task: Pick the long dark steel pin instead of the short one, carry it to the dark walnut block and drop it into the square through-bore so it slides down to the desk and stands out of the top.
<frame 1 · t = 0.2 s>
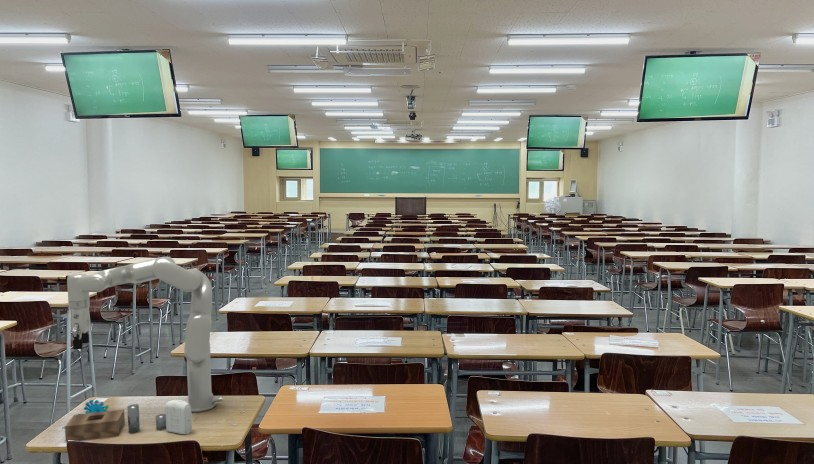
hand: (81, 346, 233), 31 cm above the table, tool pointing down, fingers open, 9 cm apart
short pin: (161, 428, 226), on the table
long pin: (134, 431, 223), on the table
hole block: (96, 432, 222), on the table
gear: (98, 419, 237), on the table
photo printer: (179, 432, 222), on the table
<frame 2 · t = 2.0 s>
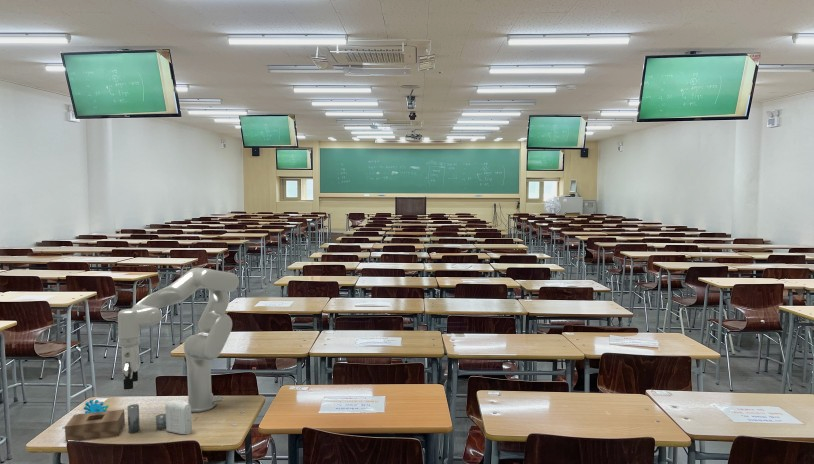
hand: (131, 385, 222), 18 cm above the table, tool pointing down, fingers open, 9 cm apart
nothing on the table moved.
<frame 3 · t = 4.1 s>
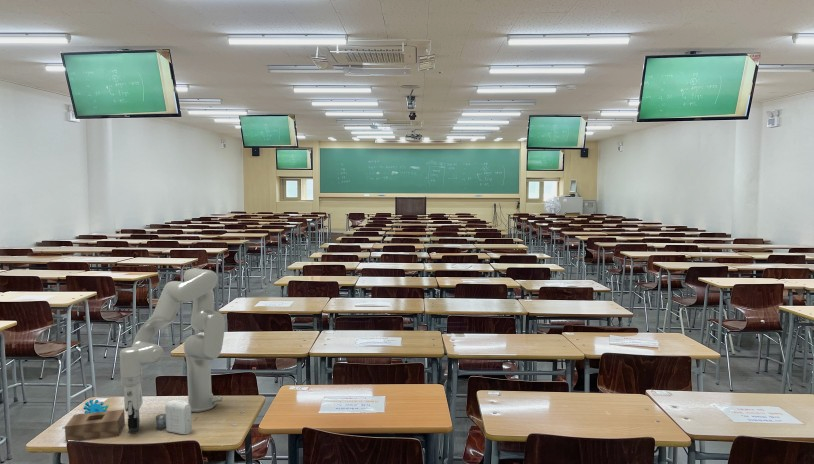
hand: (133, 425, 223), 2 cm above the table, tool pointing down, fingers closed on long pin, 4 cm apart
long pin: (134, 431, 223), on the table, touching gripper
everything else where it was.
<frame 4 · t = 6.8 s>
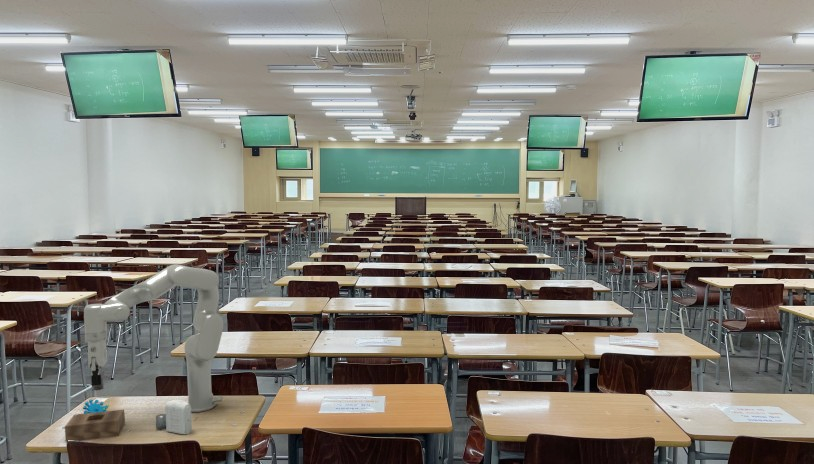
hand: (97, 382, 221), 20 cm above the table, tool pointing down, fingers closed on long pin, 4 cm apart
long pin: (98, 388, 221), point 17 cm above the table, touching gripper
everything else where it was.
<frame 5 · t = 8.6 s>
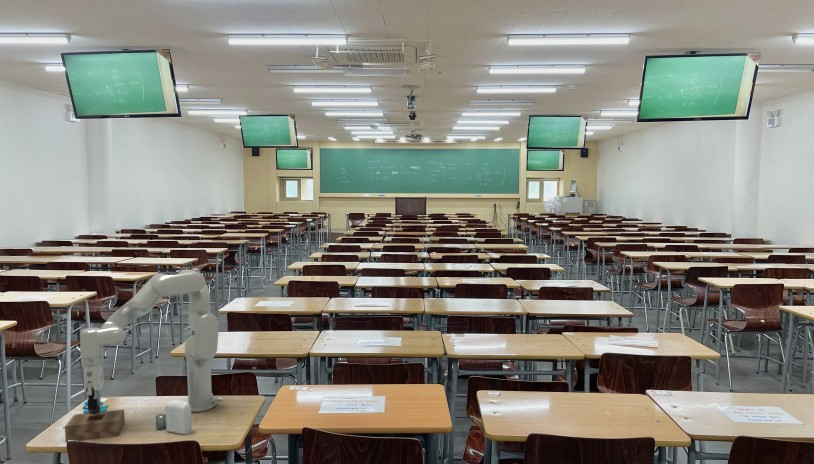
hand: (94, 406, 222), 10 cm above the table, tool pointing down, fingers closed on long pin, 4 cm apart
long pin: (94, 412, 222), point 8 cm above the table, touching gripper
everything else where it was.
when the fingers open (8 cm above the table, at t = 9.9 s): long pin drops 5 cm, resting in hole block.
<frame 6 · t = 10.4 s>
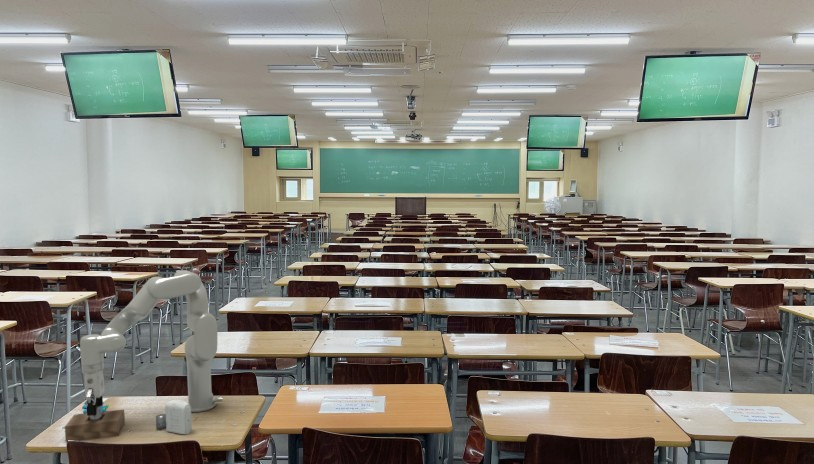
hand: (95, 410, 222), 9 cm above the table, tool pointing down, fingers open, 9 cm apart
long pin: (96, 432, 222), resting in hole block
everything else where it was.
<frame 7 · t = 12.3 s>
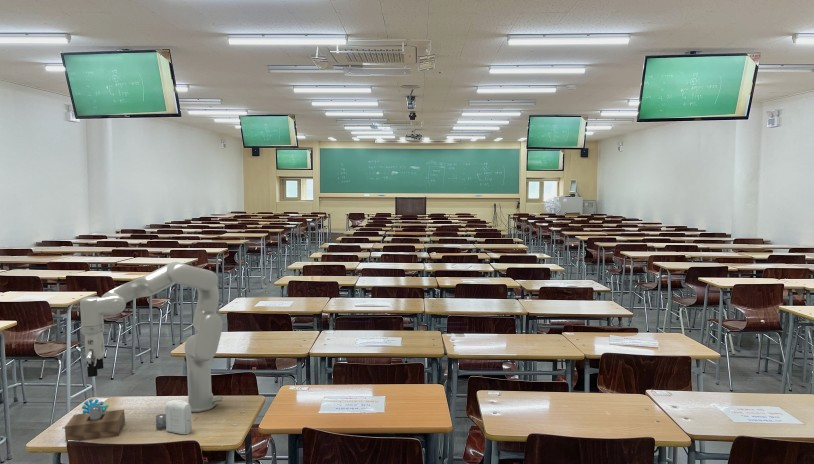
hand: (95, 372, 222), 23 cm above the table, tool pointing down, fingers open, 9 cm apart
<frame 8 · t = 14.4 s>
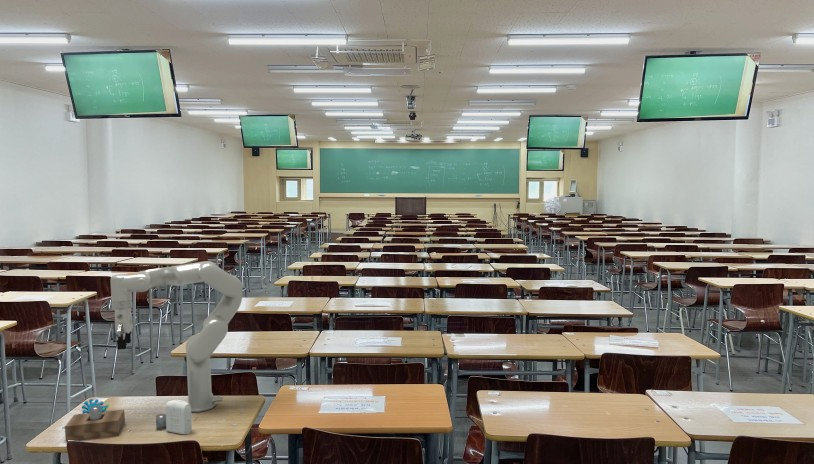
hand: (124, 346, 234), 30 cm above the table, tool pointing down, fingers open, 9 cm apart
at the end: long pin 0.1 cm off-centre on the hole block, point 0.0 cm above the hole block's base; long pin tilted 0°; short pin moved 0.1 cm from its start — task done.
